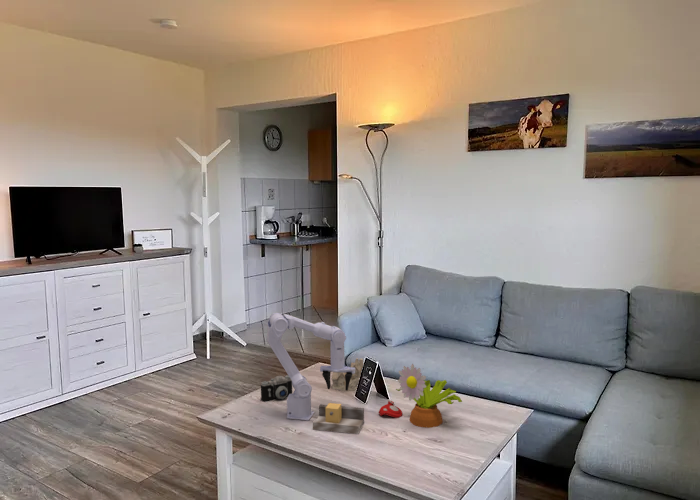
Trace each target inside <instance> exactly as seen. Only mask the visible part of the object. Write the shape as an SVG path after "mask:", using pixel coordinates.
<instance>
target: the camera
mask: <svg viewBox="0 0 700 500" xmlns="http://www.w3.org/2000/svg"><path fill="white" fill-rule="evenodd" d="M289 394H293V386H292V380H291V379H290V377H289V375H288V374H287V375H285V376H283V375H277V376H275V377H274V378H270V380H268V381H266V380H264V381H261V383H260V396H261V397H260V399H261V400H260V401H261V402H263V403H267V402H270V401H276V400H283V399H285V398H288V395H289Z"/></svg>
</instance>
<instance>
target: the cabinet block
mask: <svg viewBox="0 0 700 500" xmlns="http://www.w3.org/2000/svg"><path fill="white" fill-rule="evenodd" d="M326 405H327V407H326V408H325V410H326V422H329V423H339V422H340V421H341V419H342V412H341V406H342V403H333V402H328V403H327V404H326Z"/></svg>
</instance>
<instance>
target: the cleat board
mask: <svg viewBox="0 0 700 500" xmlns="http://www.w3.org/2000/svg"><path fill="white" fill-rule="evenodd" d="M327 405H328V404H322V403H321V404H319V405H318V416H317V418H316V419H315V420H313V421H312V430H314V431H324V432H333V433H343V434H344V433H345V434H354V435H359V433H360V432H361V429H362V428H363V426H364V424H365V408H364V407H354V406H342V405H341V412H342V419H341V421H340V422H339V423H329V422H326V410H325V408H326V407H327Z"/></svg>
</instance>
